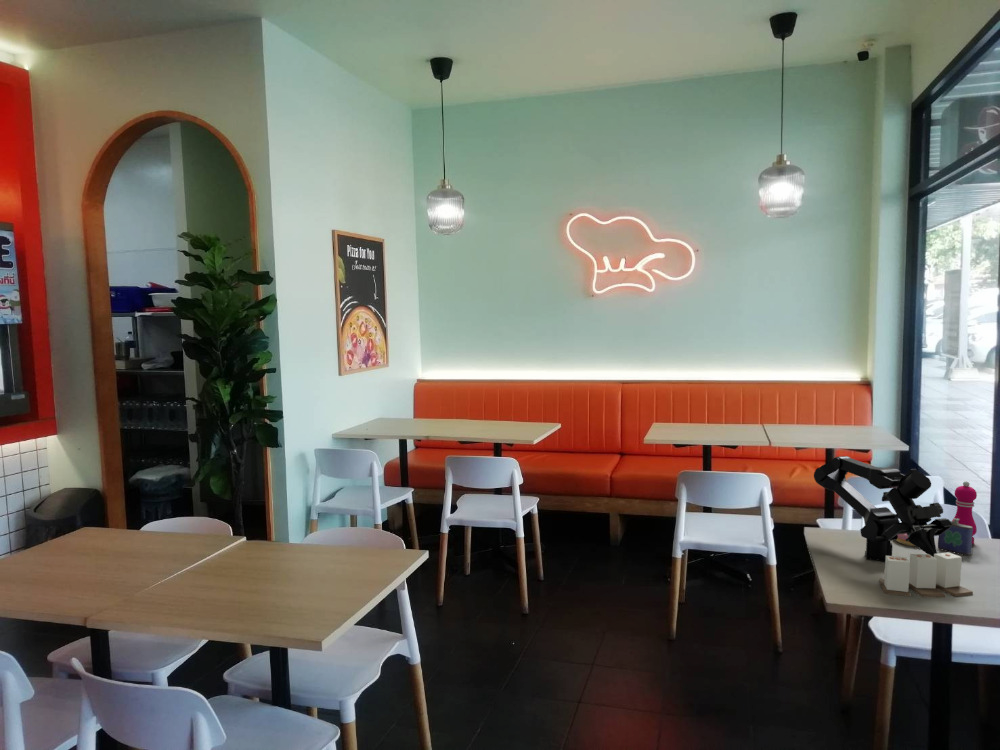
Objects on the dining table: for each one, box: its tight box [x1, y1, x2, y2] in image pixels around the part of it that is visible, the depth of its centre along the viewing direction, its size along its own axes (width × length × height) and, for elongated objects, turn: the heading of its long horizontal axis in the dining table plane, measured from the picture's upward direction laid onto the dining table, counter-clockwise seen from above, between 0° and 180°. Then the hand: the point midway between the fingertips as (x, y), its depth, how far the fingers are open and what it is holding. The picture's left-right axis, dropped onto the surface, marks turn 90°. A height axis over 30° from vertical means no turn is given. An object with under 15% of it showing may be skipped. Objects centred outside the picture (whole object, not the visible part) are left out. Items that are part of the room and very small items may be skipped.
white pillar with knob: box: [934, 551, 963, 588], centre depth 192 cm, size 4×5×8 cm
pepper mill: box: [951, 480, 978, 545], centre depth 230 cm, size 7×7×20 cm
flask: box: [937, 517, 973, 556], centre depth 221 cm, size 9×3×11 cm, turn 37°
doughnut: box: [895, 534, 916, 547], centre depth 230 cm, size 11×11×4 cm
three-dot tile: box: [884, 555, 910, 592], centre depth 190 cm, size 4×5×8 cm
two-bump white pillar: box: [909, 553, 937, 588], centre depth 192 cm, size 4×5×8 cm
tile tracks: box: [878, 578, 974, 598], centre depth 192 cm, size 22×16×1 cm
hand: (935, 557), depth 196 cm, fingers closed
